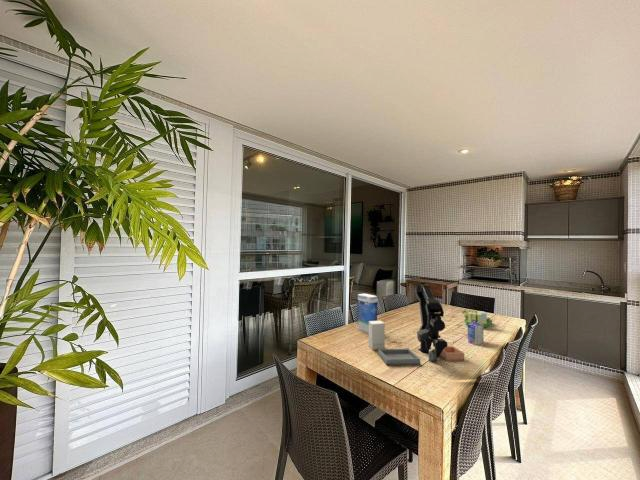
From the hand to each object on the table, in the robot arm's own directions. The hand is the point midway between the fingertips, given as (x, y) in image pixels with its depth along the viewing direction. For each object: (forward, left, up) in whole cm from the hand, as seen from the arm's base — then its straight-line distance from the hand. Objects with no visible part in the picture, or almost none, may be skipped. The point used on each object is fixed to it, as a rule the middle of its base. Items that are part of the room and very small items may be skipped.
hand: (432, 354), depth 150 cm
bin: (-5, +13, -4) cm, 14 cm away
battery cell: (0, 0, -4) cm, 4 cm away
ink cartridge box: (-26, +43, -4) cm, 50 cm away
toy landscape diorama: (-65, +73, -4) cm, 98 cm away
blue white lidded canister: (-52, -22, -4) cm, 57 cm away
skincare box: (-20, -25, -4) cm, 32 cm away
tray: (-3, -18, -4) cm, 19 cm away
